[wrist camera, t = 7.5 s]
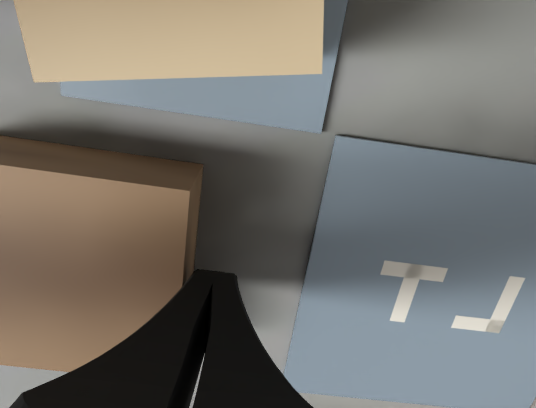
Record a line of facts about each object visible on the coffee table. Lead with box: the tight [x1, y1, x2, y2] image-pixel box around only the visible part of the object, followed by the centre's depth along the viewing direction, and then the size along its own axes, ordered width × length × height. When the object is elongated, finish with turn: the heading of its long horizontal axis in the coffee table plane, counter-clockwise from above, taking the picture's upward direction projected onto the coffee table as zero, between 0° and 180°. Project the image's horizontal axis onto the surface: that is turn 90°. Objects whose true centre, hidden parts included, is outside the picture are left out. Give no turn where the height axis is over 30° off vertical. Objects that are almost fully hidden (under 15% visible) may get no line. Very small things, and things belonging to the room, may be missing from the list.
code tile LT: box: [284, 135, 536, 408], centre depth 15 cm, size 11×11×1 cm
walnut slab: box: [0, 135, 203, 372], centre depth 13 cm, size 7×7×3 cm
